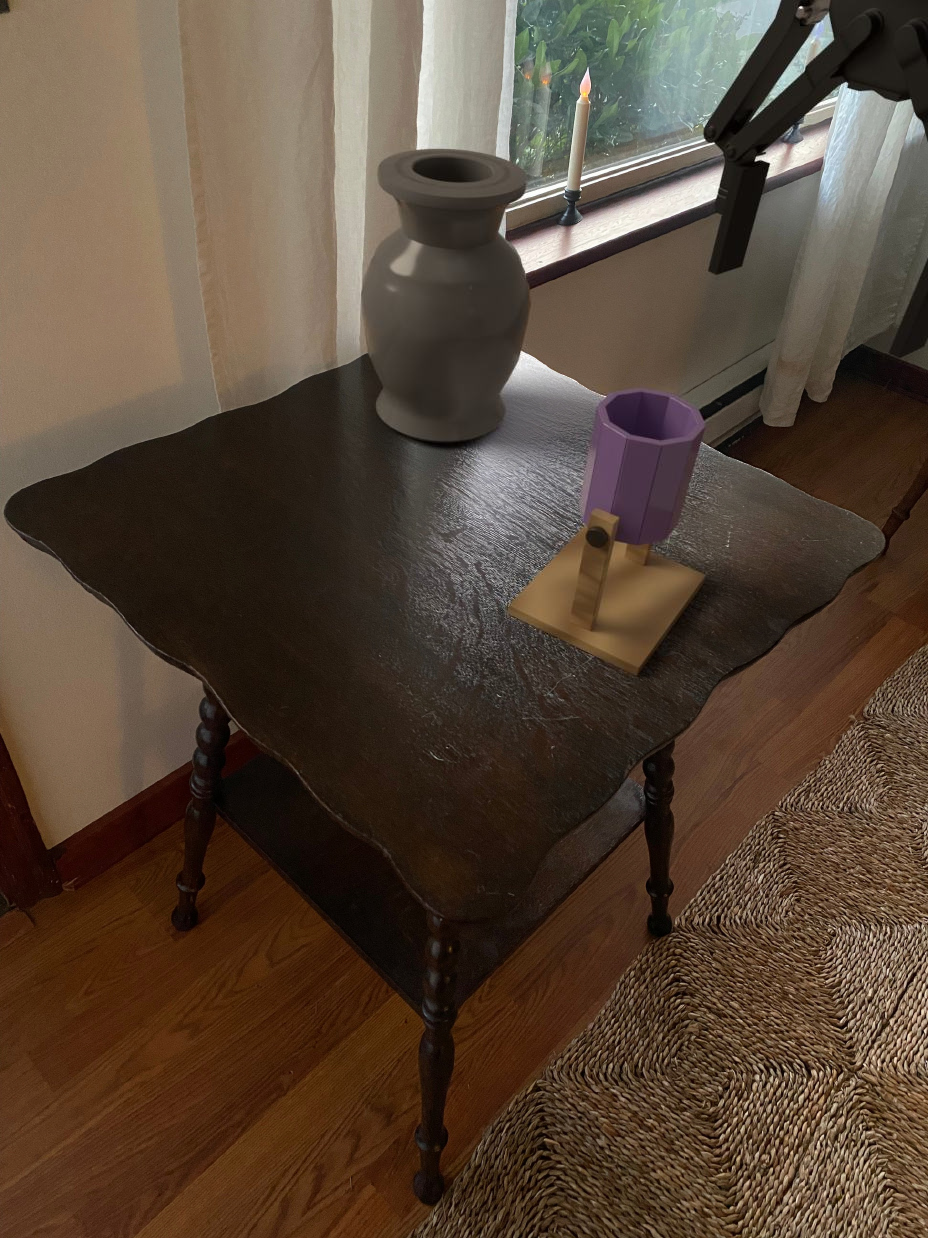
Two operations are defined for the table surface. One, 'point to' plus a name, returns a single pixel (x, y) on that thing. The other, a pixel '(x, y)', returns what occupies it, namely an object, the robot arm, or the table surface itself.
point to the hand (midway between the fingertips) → (809, 307)
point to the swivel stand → (608, 595)
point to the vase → (446, 295)
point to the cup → (641, 462)
